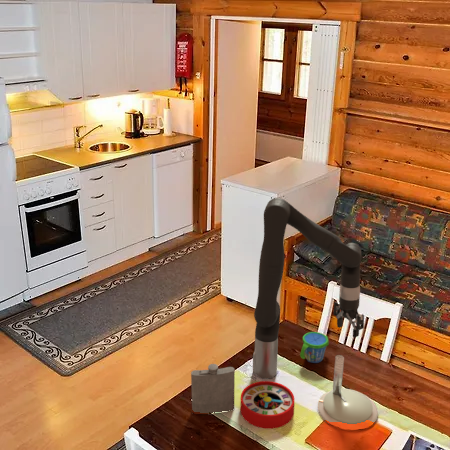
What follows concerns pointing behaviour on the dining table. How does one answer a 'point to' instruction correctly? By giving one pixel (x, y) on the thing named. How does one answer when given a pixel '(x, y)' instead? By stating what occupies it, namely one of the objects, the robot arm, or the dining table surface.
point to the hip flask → (213, 389)
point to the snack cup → (314, 346)
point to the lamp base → (328, 418)
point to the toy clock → (267, 404)
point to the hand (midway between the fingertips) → (347, 331)
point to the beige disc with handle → (346, 400)
